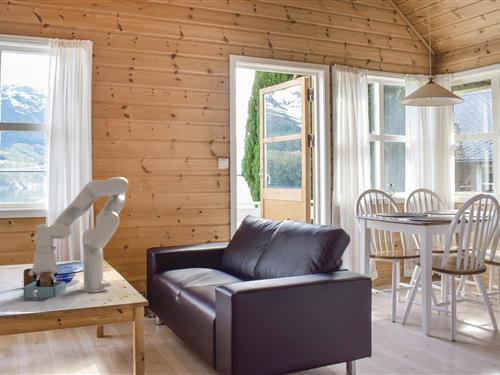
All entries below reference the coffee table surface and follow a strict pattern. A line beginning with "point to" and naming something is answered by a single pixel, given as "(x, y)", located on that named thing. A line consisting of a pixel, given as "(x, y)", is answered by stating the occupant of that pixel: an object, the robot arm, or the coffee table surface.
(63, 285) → the bin
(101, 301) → the coffee table surface
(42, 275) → the brown cylinder
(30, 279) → the mug
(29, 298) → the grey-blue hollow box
